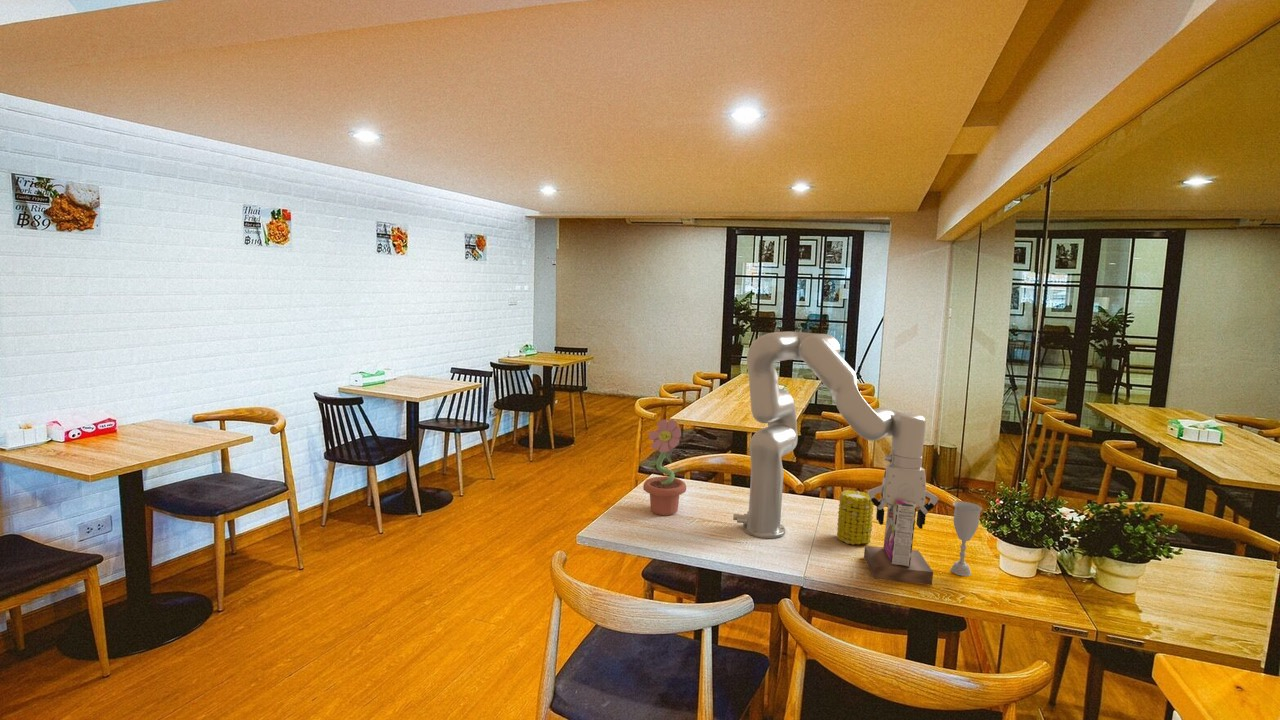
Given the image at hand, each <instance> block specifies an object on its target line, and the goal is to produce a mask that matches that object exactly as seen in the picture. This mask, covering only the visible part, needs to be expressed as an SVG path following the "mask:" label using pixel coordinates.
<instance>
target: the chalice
mask: <svg viewBox="0 0 1280 720" xmlns="http://www.w3.org/2000/svg"><path fill="white" fill-rule="evenodd" d="M952 505H953V506H954V512H953V513H954V514H953V526H954V529H955V532H956V535H957V538H958V539H959V540H960V541H961V545H960V546H959V547H960V552H959V553H958V555H959V557H960V559H959V560H957V561H955V562H954V563H953V565H952V566H951V568H950V572H952V573H953V574H955V575H957V576H962V577H970V576H971V575H972V572H971V569H970V565H969V564H968V563H966V561H965V557H966V556H967V554H966V550H967V545H966V543H967V542H970V540H971V539H972V538H973V537H974V535H975V533H976V532H977V530H978V528H979V523H980V513H981V512H982V511H983V507H982V506H981V505H978V504H976V503H973V502H969V501H954V502H953V503H952Z"/></svg>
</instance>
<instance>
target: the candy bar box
mask: <svg viewBox="0 0 1280 720" xmlns="http://www.w3.org/2000/svg"><path fill="white" fill-rule="evenodd" d="M916 515H917V506H916V505H915V503H914V502H906V501H895V505H889V504H887V511H886V520H885V528H884V529H885V531H884V539H883V547H884V549H885V552H886V554H887V556H888V558H889V560H890V563H891V564H893V565H899V566H907V567H910V561H911V553H912V550H913V542H914V534H915V533H914V532H915V525H916Z"/></svg>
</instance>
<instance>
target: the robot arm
mask: <svg viewBox="0 0 1280 720" xmlns="http://www.w3.org/2000/svg"><path fill="white" fill-rule="evenodd" d="M840 353H841V346H840V343H839V341H838V340H837V339H836V338H835V337H834V336H833V335H831V334H827V333H816V332H815V333H813V332H812V333H811V332H801V331H792V330H791V331H790V330H789V331H774V332H769V333H766V334H763V335H761V336H759V337H758V338H756V339H755V340H753V342H752V343H751V345H750V346H749V348H748V350H747V354H746V361H747V362H746V365H747V371H748V381H749V384H748V385H749V396H750V397H749V398H750V408H751V414H752V417H753V418H754V420H755V421H756V422H758V423H760V424H767V426H766V427H763V428H761V429H759V430H757V431H756V432H755V433H754V434H753V435H752V436H751V439H750V441H749V454H750V455H749V456H750V484H749V485H750V487H749V499H748V500H749V501H748V511H746V512H747V513H744V514H739V513H733V517H732V518H733V519H732V520H733V521H736V523H738V524H742V530H743V532H744V533H746V534H748V535H750V536H753V537H757V538H762V539H777V538H780V537H782V536H784V535H785V534H786V528H785V527H784V525H782V524H781V520H782V519H781V518H782V501H783V488H784V486H783V485H784V467H783V461H782V457H783V456H785V455H787V454H789V453H792V452H793V451H794V450H795V448H796V447H797V445H798V439H799V437H798V436H799V435H798V423H797V421H798V419H797V412H796V411H797V409H796V403H795V401H794V398H793V396H792V395H791V393H790V392H788V390H786V389H784V388H780V385H779V375H778V372H777V370H776V369H777V368H776V367H775V364H776V363H777V362H783V361H787V360H788V361H789V360H794V361H803V362H804V363H805V364H806V365H807V367H808V368H809V369H810V370H811V372H813V373H814V374H815V376H816V377H817V378H818V379H819V381H821V383H822V384H823V386H825V387H826V389H827V390H828V391H829V393H830V394H831V397H832V401H833V402H834V404H835V405H836V408H837V410H838V412H839V413H840V415H841V416H842V418H843V420H845V422H846V423H847V424H848V425H849V426H850V428H851V429H852V430H853V431H854V432H855V433H856V434H857V435H858V436H860V437H861V438H862V439H864V440H866V441H872V442H875V441H879V440H882V438H885V437H889V436H891V437H892V438H891V446H890V452H889V454H885V455H884V458H883V459H884V461H887V462H888V463H887V464H886V467H885V470H884V473H883V479H882V484H880V485H878V486H876V487H873V488H871V489H868V490H867V491H866V493H868V494H869V497H870V499H871V501H872V502H873V506H875V508H876V514H875V515H876V516H875V518H876V519H875V520H876V521H877V522H878V523H879V525H880V526H882V525H884V519H885V509H884V508H885V507H886V506H888V504H889V505H895V501H906V502H914V503H915V505H916V506H917V508H919V509H918V510H917V511H916V515H917V516H916V522H915V525H916V526H917V528H919V530H920V529H921V530H923V527H924V525H925V524H926V515H927V514H928V513H929V511H932V510H933V508H934V507H935V506H936V504H937V503H938V502H939V497H938V496H937V495H935V494H933V493H932V492H930V491H928V490H927V484H926V483H927V482H926V480H927V479H926V478H927V477H926V469H925V468H923V467H922V464H923V453H924V446H925V445H924V443H925V436H926V435H925V433H926V426H927V425H926V422H927V421H926V418H925V417H924V416H923V415H920V414H917V413H912V412H911V413H910V412H900V411H897V410H894V409H892V408H888V407H878V408H877V407H876V408H874V409H873V408H872V407H871V406H870V404H869V403H868V402H867V401H866V400H865V398H864V397H863V395H861V392H860V391H859V388H858V385H857V382H858V380H857V377H858V376H857V373H856V371H855V370H854V369H853V368H852V367H851V365H850V364H849V363H848V362H847V361H846V360H845V359H844V358H843V357H842V356H841V355H840ZM879 493H880V496H881V497H880V499H877V498H876V496H875V495H876V494H879ZM926 498H929V499H930V500H929V501H928V502H927V503H926V500H927V499H926ZM917 508H916V509H917Z"/></svg>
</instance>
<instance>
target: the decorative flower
mask: <svg viewBox="0 0 1280 720" xmlns="http://www.w3.org/2000/svg"><path fill="white" fill-rule="evenodd" d="M656 426H657V427H658V428H657V430H650V432H649V434H648V439H649V440H650V441H653V442H651V444H650V447H651V448H652V449H653V450H654V451H658V452H659V456H658V458H657V460H651V461H650V462H648V464H647V466H651V467H652V466H656V469H657V471H659V472H661V473H662V474H665V475H668V476H655V477H651V478H647V479H646V480H645V481H644V483H643V485H642V486H643V488H642V489H643V490H644V492H646V493H648V494H649V500H650V501H649V503H650V504H649V505H650V510H651V512H652V513H653V514H655V515H658V516H659V515H660V516H671V515H674V514H676V513H677V512H678V509H679V505H680V504H679V502H680V501H679V500H680V495H683V494H684V493H686V492H687V484H686V482H684V481H683V480H682V479H679V478H677V477H675V473H678V472H680V471H681V470H682V468H677V469H675V470H671V469H670V468H667V467H664V466H662V465H663V462H664V459H665V458H666V459H667V461H668V462H669V463H670V464H672V463H673V462H672V459H671V456H670V454H669V453H668V452H669V451H671V450H673V449H675V448H676V447H677V446H678V445H679V444H680V438H681V436H682V432H681V431H682V430H681V427H679V425H678V422H677V421H676V420H674V419H668V421H667V419H661V420H659V421H658V422H657V423H656Z"/></svg>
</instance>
